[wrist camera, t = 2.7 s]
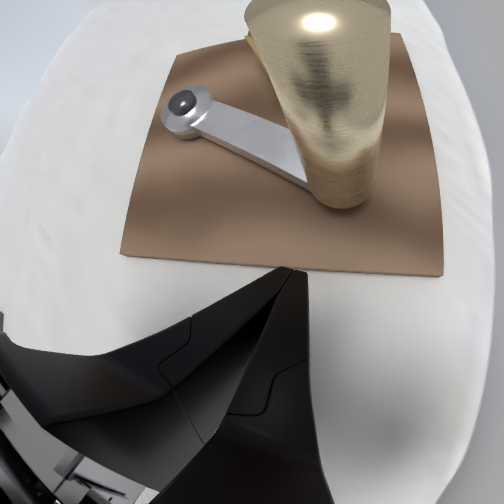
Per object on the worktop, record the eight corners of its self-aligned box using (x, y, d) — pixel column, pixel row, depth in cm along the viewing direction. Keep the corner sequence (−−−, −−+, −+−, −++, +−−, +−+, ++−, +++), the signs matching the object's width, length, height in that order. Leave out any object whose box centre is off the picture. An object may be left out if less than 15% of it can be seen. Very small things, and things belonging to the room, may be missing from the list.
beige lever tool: (162, 130, 20) (62, 39, 10) (193, 92, 20) (111, -7, 10) (349, 233, 15) (349, 68, 4) (384, 175, 15) (410, -7, 4)
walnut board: (438, 276, 14) (443, 275, 13) (126, 256, 20) (119, 254, 20) (399, 39, 17) (400, 33, 16) (180, 60, 24) (176, 55, 23)
